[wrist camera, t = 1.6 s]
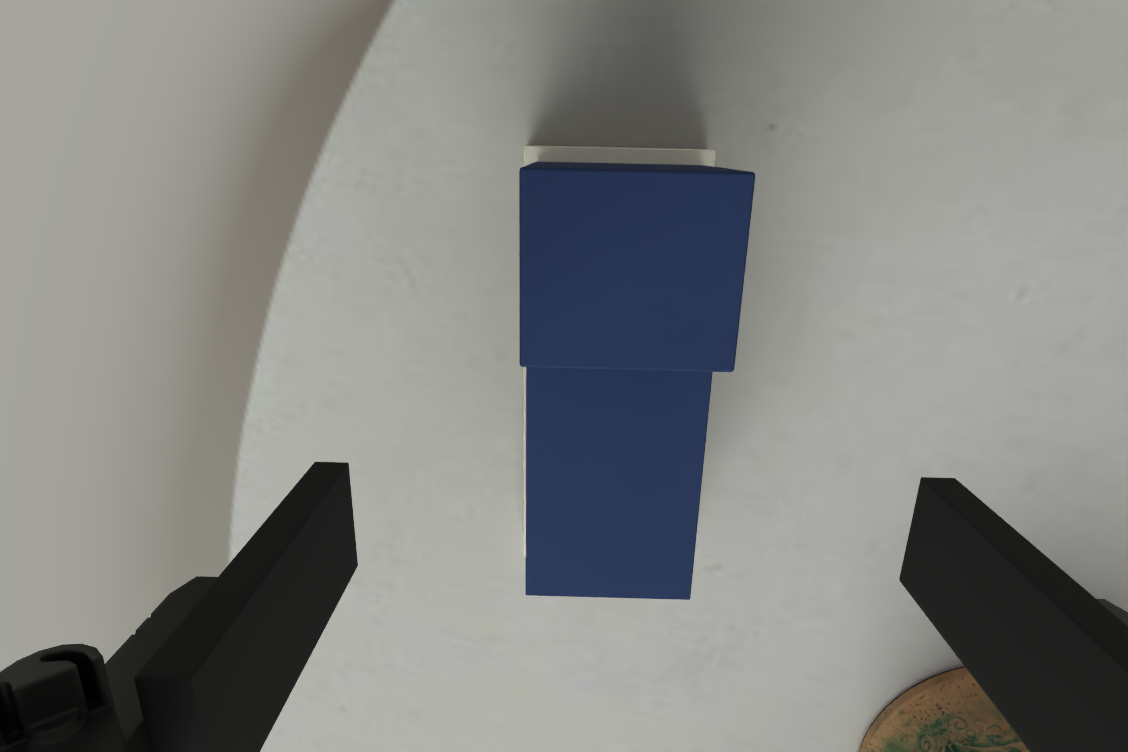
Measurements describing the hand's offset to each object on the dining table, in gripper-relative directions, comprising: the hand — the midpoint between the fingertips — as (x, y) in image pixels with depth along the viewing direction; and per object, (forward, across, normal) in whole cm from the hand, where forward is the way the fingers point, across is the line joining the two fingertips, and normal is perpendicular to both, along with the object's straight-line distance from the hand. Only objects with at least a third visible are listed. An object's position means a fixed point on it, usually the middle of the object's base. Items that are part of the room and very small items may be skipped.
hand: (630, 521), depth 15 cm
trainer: (+12, 0, 0) cm, 12 cm away
